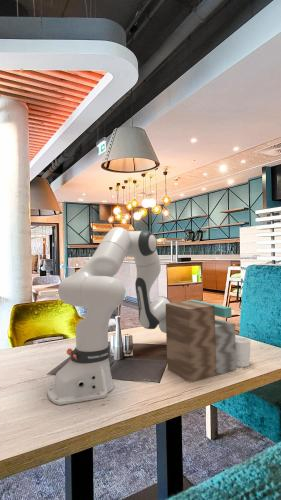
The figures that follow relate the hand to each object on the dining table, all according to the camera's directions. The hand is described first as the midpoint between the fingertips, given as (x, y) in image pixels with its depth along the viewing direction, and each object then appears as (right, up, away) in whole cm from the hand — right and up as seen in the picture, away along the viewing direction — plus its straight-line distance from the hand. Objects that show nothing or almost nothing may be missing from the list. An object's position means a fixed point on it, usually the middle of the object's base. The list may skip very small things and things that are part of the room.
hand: (196, 304), depth 139 cm
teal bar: (+3, -2, -6) cm, 7 cm away
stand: (0, -23, -13) cm, 26 cm away
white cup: (+16, -23, -8) cm, 29 cm away
